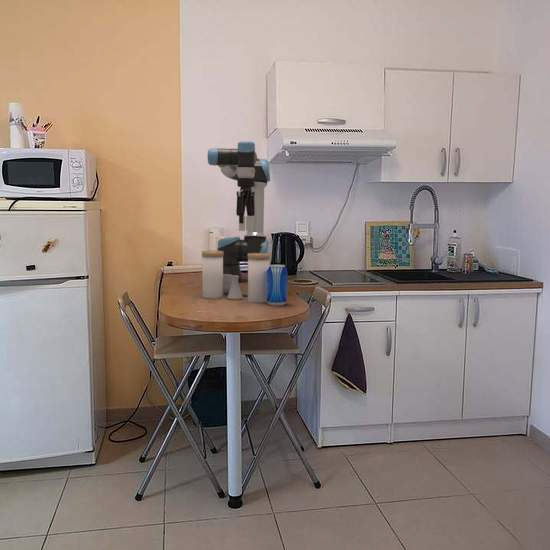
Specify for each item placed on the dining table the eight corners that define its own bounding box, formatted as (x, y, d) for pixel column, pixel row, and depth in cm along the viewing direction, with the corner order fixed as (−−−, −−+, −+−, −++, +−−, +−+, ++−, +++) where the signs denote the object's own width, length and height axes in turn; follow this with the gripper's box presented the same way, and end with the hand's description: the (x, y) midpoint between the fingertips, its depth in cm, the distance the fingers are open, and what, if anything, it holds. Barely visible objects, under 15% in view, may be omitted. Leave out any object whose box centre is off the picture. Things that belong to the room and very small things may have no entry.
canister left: (208, 294, 245) (208, 250, 242) (227, 295, 241) (227, 251, 239) (197, 297, 236) (197, 251, 233) (217, 299, 232) (217, 252, 230)
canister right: (252, 298, 236) (253, 252, 234) (272, 299, 233) (273, 253, 230) (243, 301, 228) (243, 254, 225) (264, 303, 224) (264, 255, 222)
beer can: (266, 302, 227) (267, 264, 225) (286, 302, 227) (287, 264, 225) (265, 305, 219) (266, 266, 217) (286, 306, 218) (287, 266, 216)
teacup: (228, 294, 245) (228, 277, 244) (205, 293, 247) (205, 276, 246) (237, 290, 258) (237, 273, 257) (215, 289, 260) (215, 272, 259)
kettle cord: (216, 294, 245) (216, 292, 245) (217, 293, 246) (217, 291, 246) (267, 298, 236) (267, 296, 235) (268, 298, 237) (268, 296, 236)
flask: (229, 300, 230) (229, 277, 228) (224, 297, 236) (224, 275, 235) (245, 299, 233) (246, 276, 231) (240, 297, 239) (240, 274, 238)
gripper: (244, 176, 227) (243, 231, 230) (262, 178, 244) (262, 230, 247) (228, 176, 229) (227, 231, 232) (247, 178, 247) (247, 229, 250)
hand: (245, 230), depth 240 cm, fingers open, 6 cm apart
